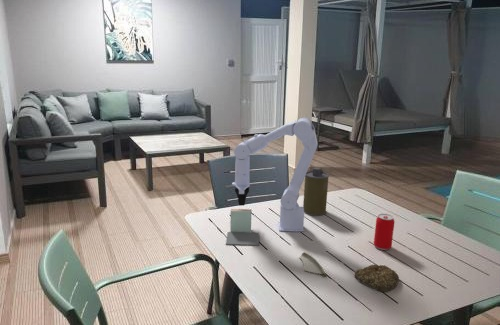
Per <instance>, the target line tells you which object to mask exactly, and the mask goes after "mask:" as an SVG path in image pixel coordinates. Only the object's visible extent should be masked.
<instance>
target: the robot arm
mask: <svg viewBox="0 0 500 325" xmlns="http://www.w3.org/2000/svg"><path fill="white" fill-rule="evenodd" d="M284 136H291V137H294V136H296V138H298V139H299V140H300V141H301V144H302V145H303V149H302V152H301V154H300V157H299V159H298V162H297V165H296V166H295V169H294V172H293V174H292V178H291V179H290V182H289V185H288V186H287V188H285V189H284V191H283V194H282V196H281V198H280V205H279V206H280V207H279V208H280V209H279V210H280V212H279V221H278V222H277V225H278V231H279V232H304V223H305V222H304V221H305V219H304V218H305V213H304V208H303V206H300V205H299V203H298V200H299V198H300V190H301V187H302V185H303V182H304V181H305V175H306V173H307V171H309V167H310V165H311V163H312V161H313V158H314V156H315V153H316V151H317V148H318V138H317V135H316V128H315V126H314V124H313V122H312V121H311V119H309V118H307V117H301V118H299V119H298V120H297V119H294V120H292V121H290V122H288V123H285V124H283V125H282V126H279V127H278V128H276V129H274V130H272V131H270V132H268V133H267V134H263V133H259V134H258V133H256V134H254V135H253V137H250V138H249V139H244V140H243V142H240V143H239V144H237V145H236V147H234V150H233V154H234V157H235V162H234V164H235V166H234V167H235V169H234V170H235V172H234V173H235V174H234V182H232V183H231V185H232V186H234V191H235V194H236V196H237V201H238V206H243V207H244V206H245V204H246V199H247V196H248V194H249V191H250V186H251V184H250V177H251V176H250V175H251V174H250V169H251V168H250V166H251V164H250V163H251V161H250V159H251V158H250V157H251V156H250V155H254V154H255V153H257V152H259V151H262V150H264V149H266V148H267V147H268V145H269V143H270V142H273V141H276V140H277V139H279V138H281V137H284Z"/></svg>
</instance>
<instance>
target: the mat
mask: <svg viewBox="0 0 500 325" xmlns="http://www.w3.org/2000/svg"><path fill="white" fill-rule="evenodd" d="M225 245H226V246H260V232H252V231H251V232H230V231H227V236H226V242H225Z"/></svg>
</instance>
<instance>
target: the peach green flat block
mask: <svg viewBox="0 0 500 325" xmlns="http://www.w3.org/2000/svg"><path fill="white" fill-rule="evenodd" d="M252 211H253V210H252V209H250V208H249V209H246V208H245V209H244V208H231V209H230V226H229V227H230V230H229V232H252Z"/></svg>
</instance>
